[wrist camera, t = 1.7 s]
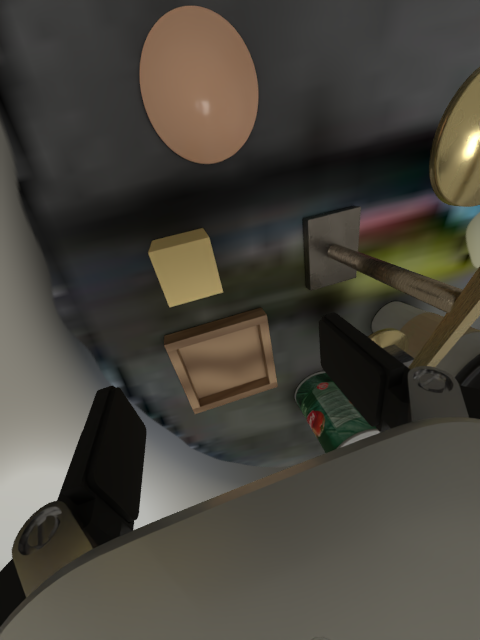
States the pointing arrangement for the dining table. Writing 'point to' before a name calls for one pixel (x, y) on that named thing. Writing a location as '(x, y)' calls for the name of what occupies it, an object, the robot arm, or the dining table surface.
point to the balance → (344, 260)
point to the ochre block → (185, 267)
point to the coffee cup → (463, 358)
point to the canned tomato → (331, 413)
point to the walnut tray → (223, 359)
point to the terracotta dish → (198, 84)
